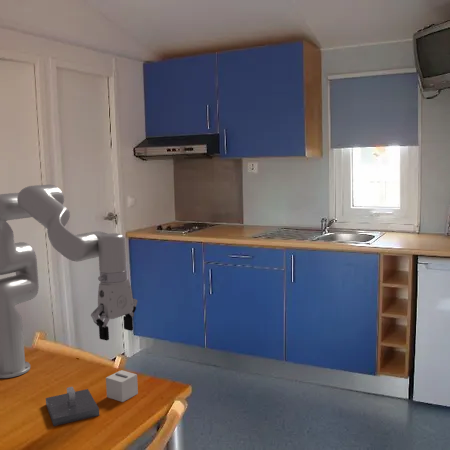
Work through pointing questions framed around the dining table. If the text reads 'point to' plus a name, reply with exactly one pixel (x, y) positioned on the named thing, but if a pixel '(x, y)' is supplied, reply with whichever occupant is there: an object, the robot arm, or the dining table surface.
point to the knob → (121, 385)
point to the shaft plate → (71, 406)
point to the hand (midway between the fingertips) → (116, 334)
